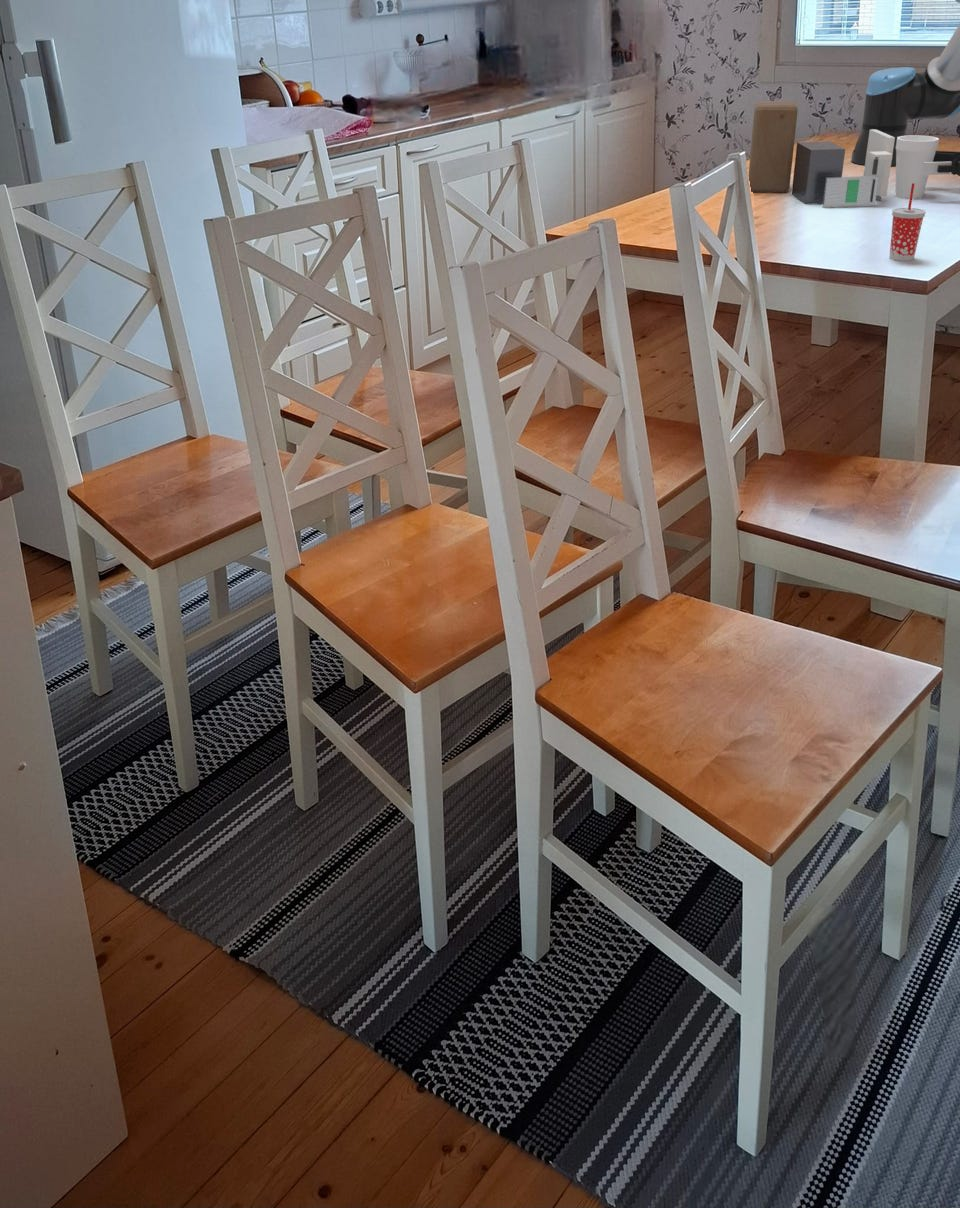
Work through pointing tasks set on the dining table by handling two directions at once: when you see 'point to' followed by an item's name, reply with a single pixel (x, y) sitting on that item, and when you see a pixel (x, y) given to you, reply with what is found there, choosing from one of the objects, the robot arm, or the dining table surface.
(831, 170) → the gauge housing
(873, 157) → the gauge slider
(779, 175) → the wooden block
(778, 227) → the dining table surface
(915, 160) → the foam cup
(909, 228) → the beverage cup
